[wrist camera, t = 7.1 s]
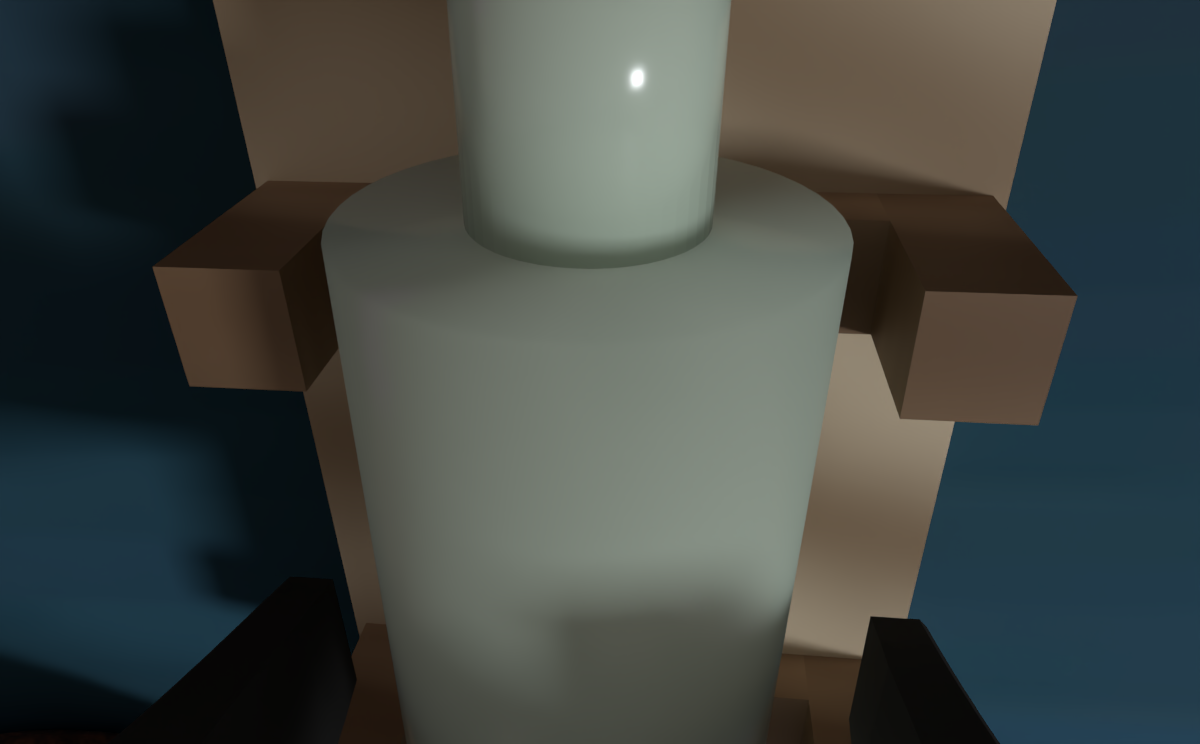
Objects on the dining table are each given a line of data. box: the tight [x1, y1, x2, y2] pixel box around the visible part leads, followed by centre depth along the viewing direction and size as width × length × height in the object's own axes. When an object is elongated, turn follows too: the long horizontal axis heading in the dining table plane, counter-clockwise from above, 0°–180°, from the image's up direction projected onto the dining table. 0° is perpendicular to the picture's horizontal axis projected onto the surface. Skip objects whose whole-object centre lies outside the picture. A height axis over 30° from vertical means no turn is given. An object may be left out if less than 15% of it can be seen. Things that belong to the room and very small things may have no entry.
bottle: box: [321, 0, 854, 744], centre depth 10 cm, size 16×5×5 cm, turn 179°
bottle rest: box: [153, 0, 1077, 744], centre depth 14 cm, size 16×10×4 cm, turn 1°
